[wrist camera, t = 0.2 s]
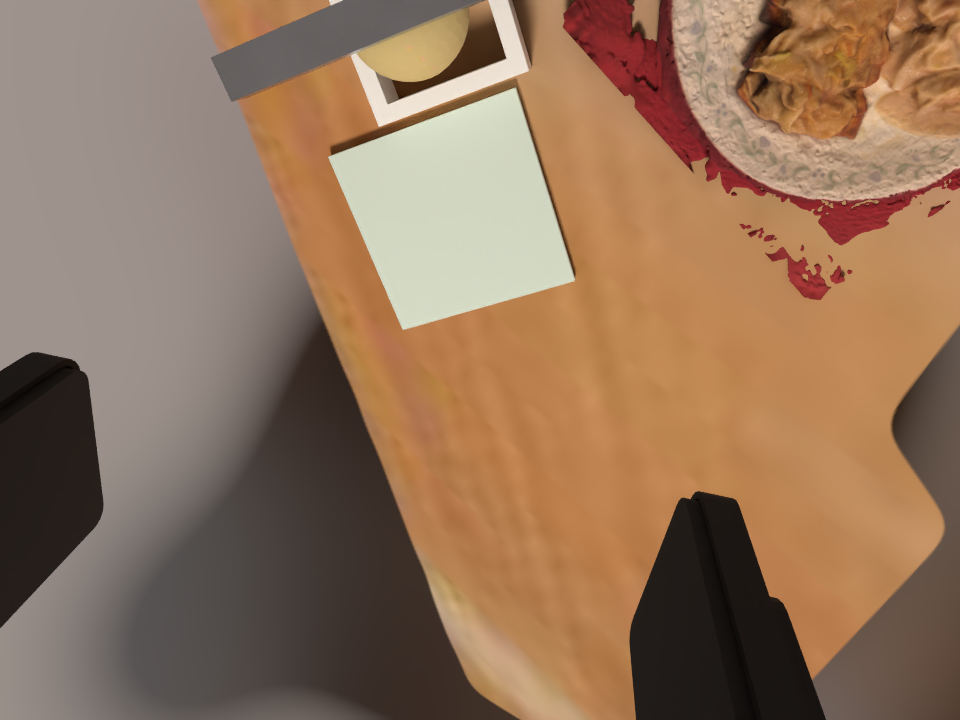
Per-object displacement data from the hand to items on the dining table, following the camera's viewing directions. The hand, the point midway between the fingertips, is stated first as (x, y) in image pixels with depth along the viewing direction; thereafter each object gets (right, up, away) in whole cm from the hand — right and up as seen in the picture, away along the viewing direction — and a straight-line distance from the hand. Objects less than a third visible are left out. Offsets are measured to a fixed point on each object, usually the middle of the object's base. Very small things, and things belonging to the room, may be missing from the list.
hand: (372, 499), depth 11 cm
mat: (0, +12, +35) cm, 37 cm away
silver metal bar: (-3, +18, +20) cm, 27 cm away
